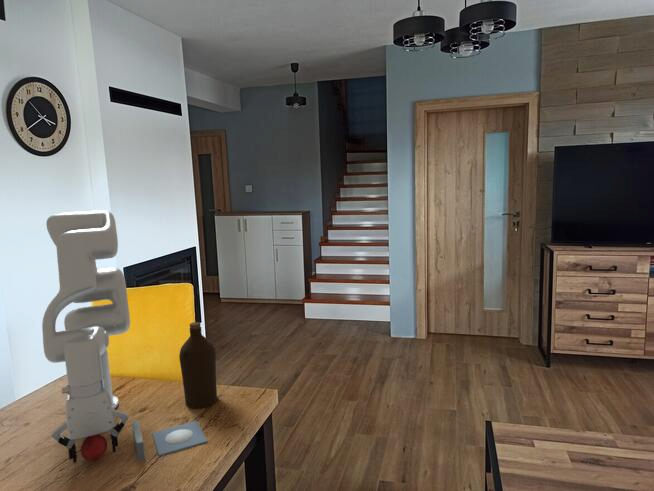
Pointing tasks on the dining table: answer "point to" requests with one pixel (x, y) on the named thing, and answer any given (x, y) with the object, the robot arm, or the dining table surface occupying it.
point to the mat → (178, 438)
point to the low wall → (138, 441)
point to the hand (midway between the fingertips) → (94, 454)
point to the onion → (93, 448)
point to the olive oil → (198, 369)
